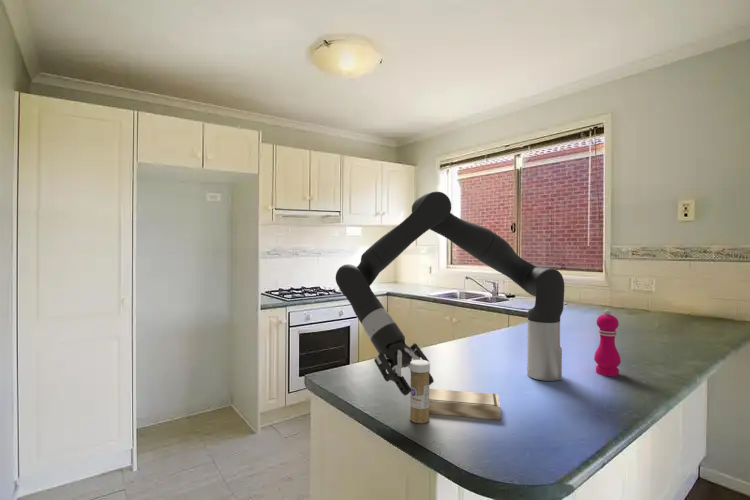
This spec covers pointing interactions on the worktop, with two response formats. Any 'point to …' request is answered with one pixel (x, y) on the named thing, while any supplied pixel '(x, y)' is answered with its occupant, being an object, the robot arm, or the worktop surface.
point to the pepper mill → (607, 346)
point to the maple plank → (464, 404)
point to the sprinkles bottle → (419, 391)
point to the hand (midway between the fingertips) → (420, 388)
